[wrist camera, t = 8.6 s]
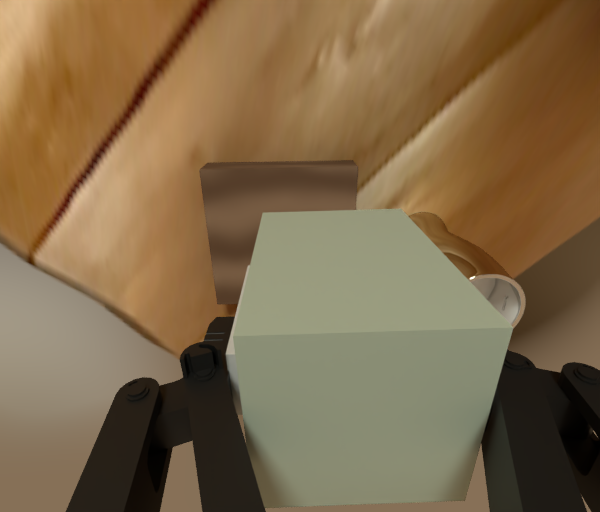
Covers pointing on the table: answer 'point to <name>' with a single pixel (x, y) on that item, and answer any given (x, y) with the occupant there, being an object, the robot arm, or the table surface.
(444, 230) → the beer glass
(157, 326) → the table surface
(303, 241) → the sage block
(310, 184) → the walnut block
